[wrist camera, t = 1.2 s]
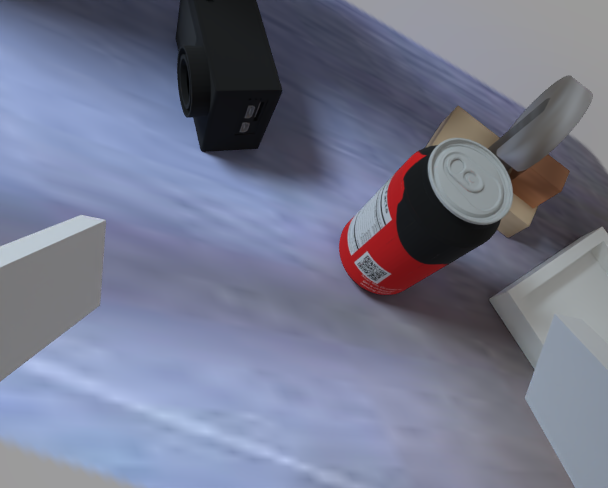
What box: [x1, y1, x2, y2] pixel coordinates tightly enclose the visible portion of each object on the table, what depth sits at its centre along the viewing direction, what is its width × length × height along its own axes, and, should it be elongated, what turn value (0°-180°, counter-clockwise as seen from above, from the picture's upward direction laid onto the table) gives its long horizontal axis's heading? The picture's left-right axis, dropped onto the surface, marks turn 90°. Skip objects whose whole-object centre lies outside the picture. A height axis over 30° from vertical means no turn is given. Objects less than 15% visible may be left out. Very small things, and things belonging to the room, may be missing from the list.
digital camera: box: [176, 0, 282, 152], centre depth 35 cm, size 10×5×7 cm, turn 15°
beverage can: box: [339, 138, 513, 295], centre depth 32 cm, size 6×6×12 cm
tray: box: [489, 227, 608, 370], centre depth 39 cm, size 13×13×2 cm
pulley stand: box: [425, 76, 593, 238], centre depth 38 cm, size 10×7×12 cm
